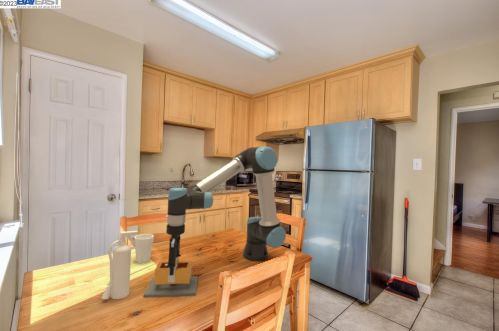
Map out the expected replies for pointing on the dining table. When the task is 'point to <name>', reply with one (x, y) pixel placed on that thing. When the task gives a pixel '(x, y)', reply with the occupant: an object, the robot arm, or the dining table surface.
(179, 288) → the keeper plate
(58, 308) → the dining table surface
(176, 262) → the hook
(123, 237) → the fire extinguisher
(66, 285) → the dining table surface
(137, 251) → the foam cup
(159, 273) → the framed display niche
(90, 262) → the dining table surface
